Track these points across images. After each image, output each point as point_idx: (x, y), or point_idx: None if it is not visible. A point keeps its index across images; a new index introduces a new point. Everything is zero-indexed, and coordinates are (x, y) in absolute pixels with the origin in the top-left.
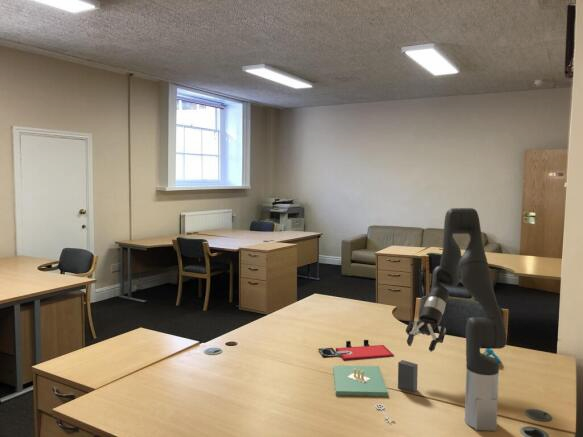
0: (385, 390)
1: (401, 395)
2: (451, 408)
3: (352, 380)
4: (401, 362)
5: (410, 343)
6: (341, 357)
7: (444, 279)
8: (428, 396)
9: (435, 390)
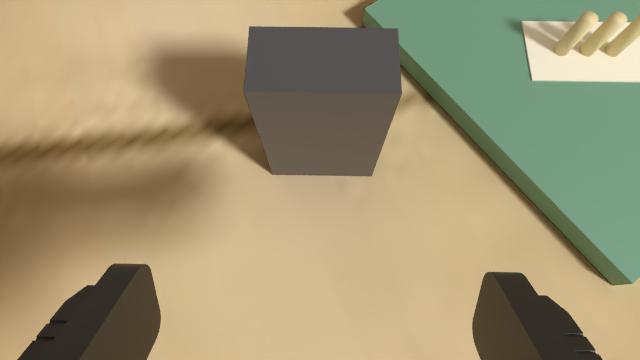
0: (383, 17)
1: None
2: (54, 100)
3: (583, 7)
4: (376, 41)
5: (489, 330)
6: None
7: None
8: (191, 144)
9: (179, 238)
